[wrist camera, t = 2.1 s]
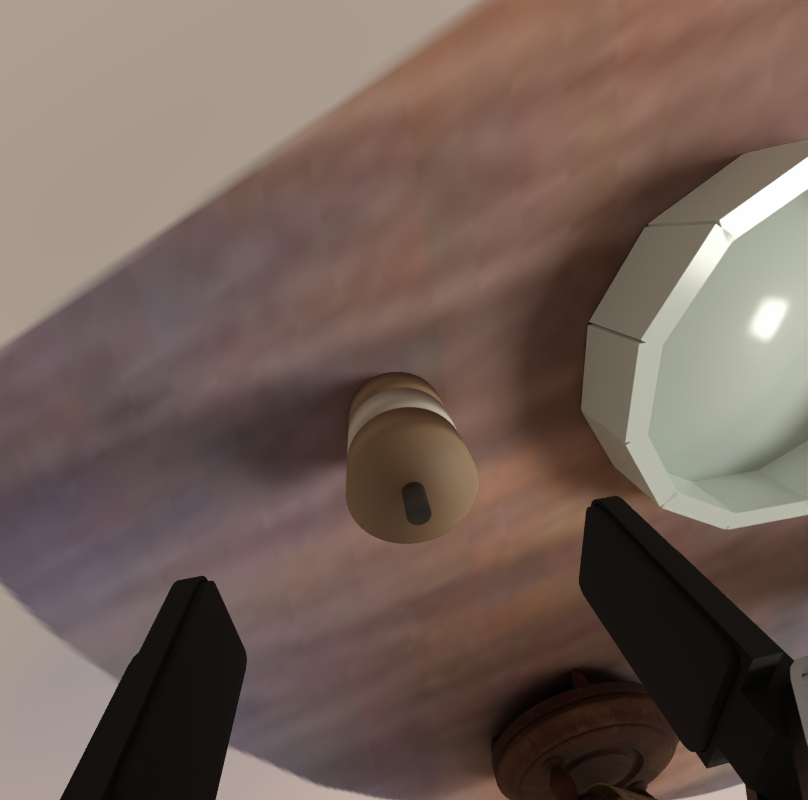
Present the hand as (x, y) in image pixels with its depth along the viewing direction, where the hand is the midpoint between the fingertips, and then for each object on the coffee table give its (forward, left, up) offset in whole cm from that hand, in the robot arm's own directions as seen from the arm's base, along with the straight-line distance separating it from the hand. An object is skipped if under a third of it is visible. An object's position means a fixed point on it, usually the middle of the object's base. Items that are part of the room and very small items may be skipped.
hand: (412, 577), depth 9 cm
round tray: (-19, -1, -10) cm, 21 cm away
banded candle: (-1, 0, -10) cm, 10 cm away
